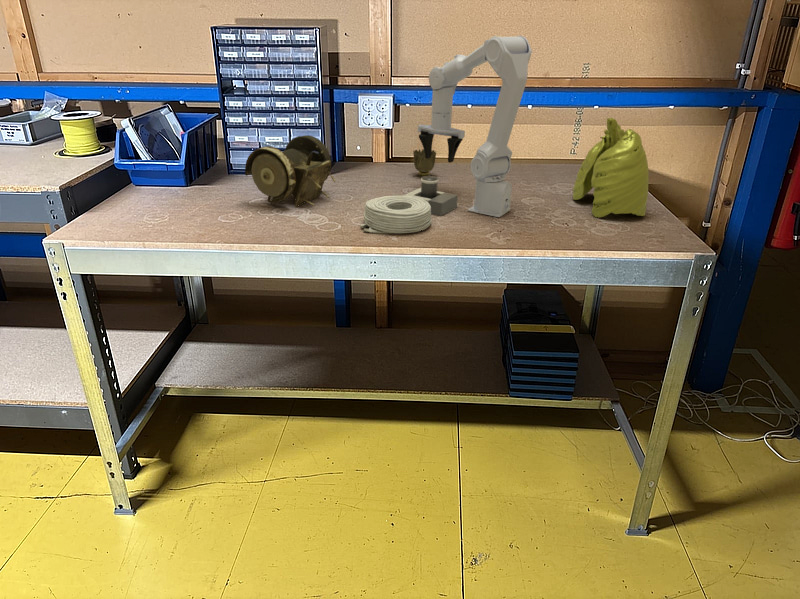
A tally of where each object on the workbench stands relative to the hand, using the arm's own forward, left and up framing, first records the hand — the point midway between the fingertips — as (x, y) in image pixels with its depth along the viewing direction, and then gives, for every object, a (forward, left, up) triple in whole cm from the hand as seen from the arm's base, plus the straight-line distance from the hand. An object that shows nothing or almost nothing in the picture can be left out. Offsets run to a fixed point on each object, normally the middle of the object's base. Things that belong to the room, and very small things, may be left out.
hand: (439, 159), depth 172 cm
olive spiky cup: (+12, -12, -10) cm, 19 cm away
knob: (-5, +14, -8) cm, 17 cm away
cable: (-6, +31, -10) cm, 33 cm away
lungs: (-46, -15, -10) cm, 50 cm away
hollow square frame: (-6, +15, -9) cm, 19 cm away
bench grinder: (+28, +31, -10) cm, 43 cm away
